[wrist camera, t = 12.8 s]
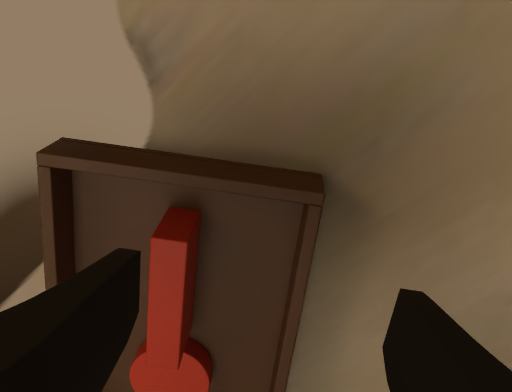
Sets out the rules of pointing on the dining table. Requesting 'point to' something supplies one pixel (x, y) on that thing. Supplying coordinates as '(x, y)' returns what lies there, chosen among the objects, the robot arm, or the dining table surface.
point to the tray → (209, 250)
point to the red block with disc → (172, 311)
